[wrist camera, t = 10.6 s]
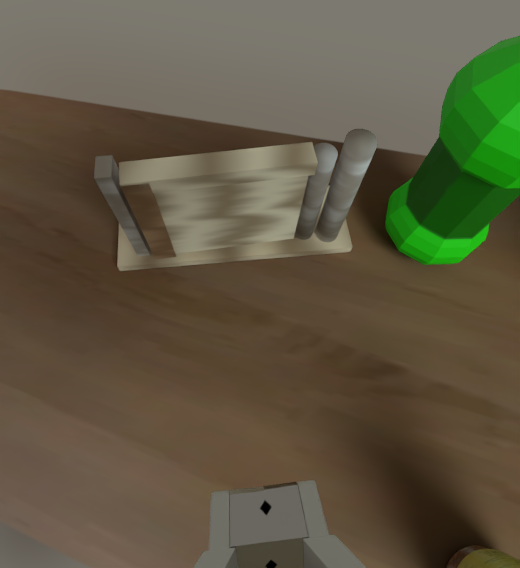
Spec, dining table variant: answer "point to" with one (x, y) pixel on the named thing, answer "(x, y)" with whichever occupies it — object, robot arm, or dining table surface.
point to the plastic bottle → (464, 163)
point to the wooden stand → (324, 240)
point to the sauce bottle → (482, 558)
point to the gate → (228, 196)
